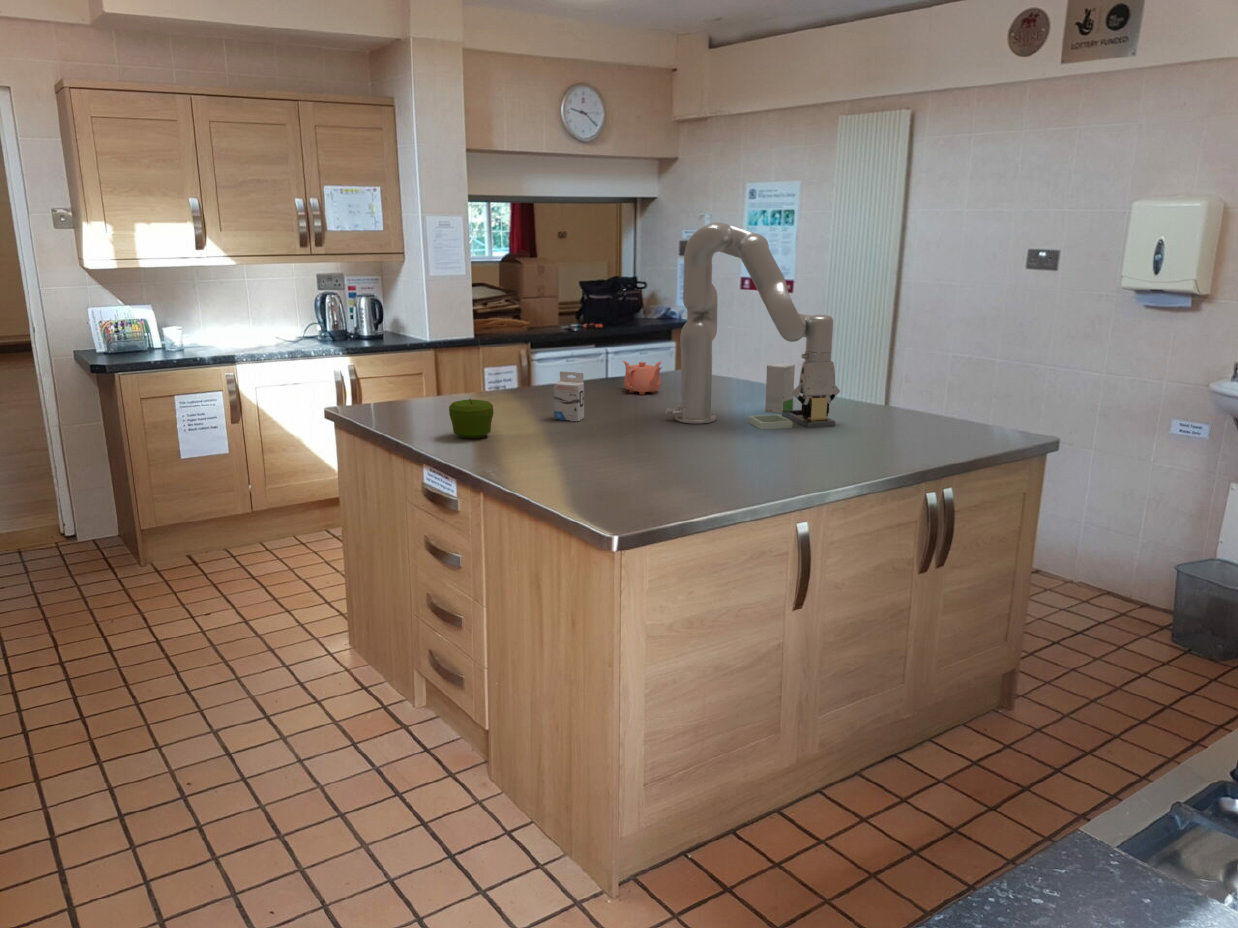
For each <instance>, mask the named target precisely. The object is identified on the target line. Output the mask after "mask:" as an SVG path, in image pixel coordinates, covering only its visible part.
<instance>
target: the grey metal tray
mask: <svg viewBox="0 0 1238 928" xmlns="http://www.w3.org/2000/svg"><path fill="white" fill-rule="evenodd" d="M801 410H802V409H793V410H786V411H782V414H781V416H783V417H785V418H787V419H789V420H791V421H793V422H794V423H796V424H798V425H800V426H802V427H804V428H806V429H812V428H813V429H816V428H818V429H819V428H833V427H836V420H833V419H832V418H830V417H826V421H812V422H810V421H808V420H805V419H804V417H803V416H802V413H801Z"/></svg>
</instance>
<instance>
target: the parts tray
mask: <svg viewBox="0 0 1238 928" xmlns="http://www.w3.org/2000/svg"><path fill="white" fill-rule="evenodd" d="M747 419H748V420H747V423H748V424H750V425H752V426H754V427H756V428H757V429H759V430H763V431H764V430H776V429H791V428H792V429H793V422H794V421H792V420H790V419H788V418H785V417H783V416H782V414H780V413H776V414H765V415H764V414H763V415H762V414H761V415H748V418H747Z"/></svg>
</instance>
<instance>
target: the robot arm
mask: <svg viewBox="0 0 1238 928" xmlns="http://www.w3.org/2000/svg"><path fill="white" fill-rule="evenodd" d="M769 247H770V246H769V242H768V240H767V239H766V237H764V236H763V235H762V234H759V233H756V232H752V231H749V230H745V229H742V228H739V227H736V226H734V225H730V224H727V223H724V222H710V223H708V224H706V225H704V226H702V227H701V228H699V229H698V230H696V231H695V232H693V234H692V235H691V236H690V237H689V239H688V240H687V243H686V245H685V249H684V256H683V257H684V259H683V282H682V283H683V286H682V287H683V288H682V289H683V290H682V291H683V292H682V303H683V306H684V307H685V309H686V311H687V312H686V313H687V314H686V315H687V319H686V322H685V324H684V325H683V326H682V328H681V331H680V338H679V339H680V340H679V343H680V404H677V406H676V407H675V406H674V407H673V408H670V407H669V408H668V407H667V408H665V409H664V410H665V412H664V413H665V415H672V416H675V417H674V418H675V421H676V422H680V423H684V424H696V425H697V424H699V425H700V424H708V423H714V422H715V421H716V420H717V415H715V414H714V413H713V414H712V385H713V384H712V383H713V382H712V381H713V379H712V378H713V377H712V376H713V341H714V340H715V338H716V336H717V331H718V292H717V289H716V287H715V285H714V284H713V278H712V275H713V263H712V262H713V257H714V255H715V253H719V252H720V253H723V254H726V255H728V256H732V257H734V258H737V259H740V260H741V262H742V263H743V265H744V267H745V269H746V271H747V273H748V275H749V277H750V278H751V281H752V282H753V284H754V286H755V288H756V290H757V292H758V294H759V297H760V298H761V301H762V302H763V305H764V306H765V308H766V310H767V312H768V315H769V317H770V318H771V320H772V323H773V324H774V326H775V327H776V330H777V331H778V333H779V335H780V337H782V339H783V340H785V341H786V342H790V343H795V342H798V341H800V340H801V339H802V338H806V340H805V350H804V353H802V354H801V359H804V360H803V361H802V365H801V371H800V373H799V374H800V375H799V382H798V386H796V388H794V391H793V392H792V394H793V395H794V397H795V398H796V399H797V400H798V401H799V402H800V404H801V409H800V410H801V413H802V416H803V417H805V418H808V417H809V405H808V402H809V399H810V396H825V397H827V414H826V417H827V418H829V413H830V404H831V403H832V401H833V400H834V399H835V398H836V396H838V395H839V394H840V392H841V390H840V389H839V388H838V386H837V385H836V370H835V363H834V361H832V349H833V348H832V347H833V335H834V334H833V333H834V332H833V331H834V318H833V317H832V316H830V315H826V314H814V315H810V314H803V313H799V312H798V310H797V307H796V306H795V304H794V303H793V301H792V298H791V295H790V293H789V290H788V286H787V285H788V284H787V281H786V278H785V276H784V274H783V272H782V270H781V269H780V266H779V265H778V263H777V261H776V260H775V258H774V256H773V254H772V252H771V250H770V248H769ZM801 394H802V395H801Z"/></svg>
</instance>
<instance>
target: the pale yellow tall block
mask: <svg viewBox="0 0 1238 928" xmlns="http://www.w3.org/2000/svg"><path fill="white" fill-rule="evenodd" d="M808 405H809V417H808V418H805V417H804V419H805V420H808V421H810V422H812V421H826V414H827V397H825V396H810V399H809V402H808Z"/></svg>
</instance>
